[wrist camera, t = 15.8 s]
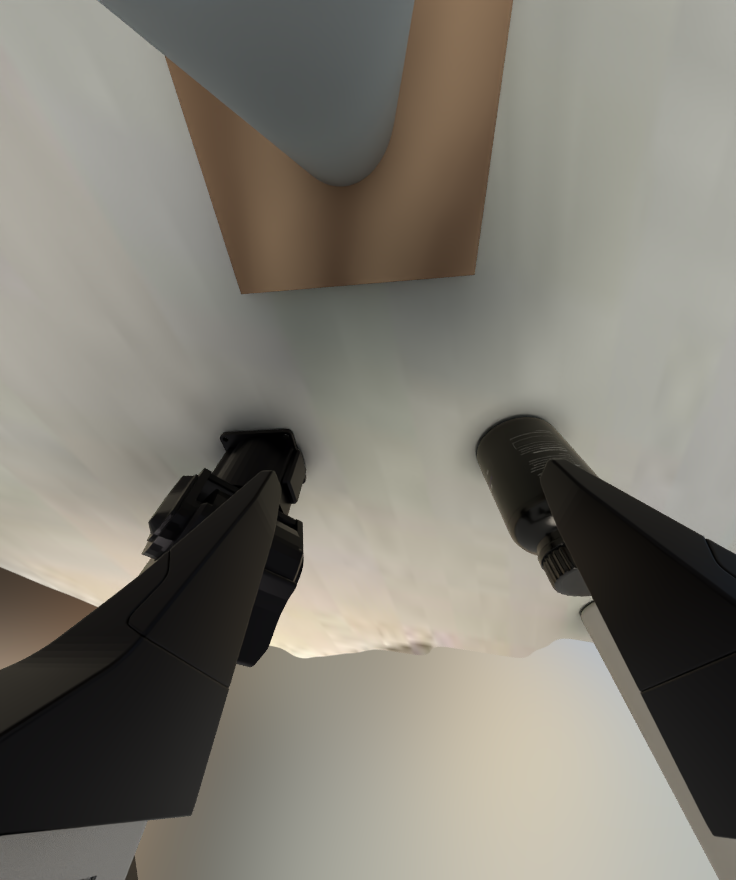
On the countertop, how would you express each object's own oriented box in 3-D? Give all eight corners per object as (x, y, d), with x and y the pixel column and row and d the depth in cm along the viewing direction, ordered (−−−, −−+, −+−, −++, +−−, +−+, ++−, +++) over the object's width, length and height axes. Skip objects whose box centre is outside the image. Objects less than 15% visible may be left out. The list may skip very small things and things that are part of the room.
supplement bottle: (459, 460, 26) (508, 593, 17) (507, 402, 22) (606, 533, 13) (518, 480, 28) (593, 611, 18) (572, 429, 24) (704, 563, 14)
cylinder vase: (586, 594, 43) (768, 909, 23) (679, 586, 40) (970, 926, 21) (572, 623, 50) (702, 882, 30) (651, 618, 48) (845, 892, 28)
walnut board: (247, 291, 18) (241, 294, 17) (101, -186, 9) (75, -225, 8) (469, 272, 17) (474, 274, 16) (540, -273, 8) (558, -326, 7)
